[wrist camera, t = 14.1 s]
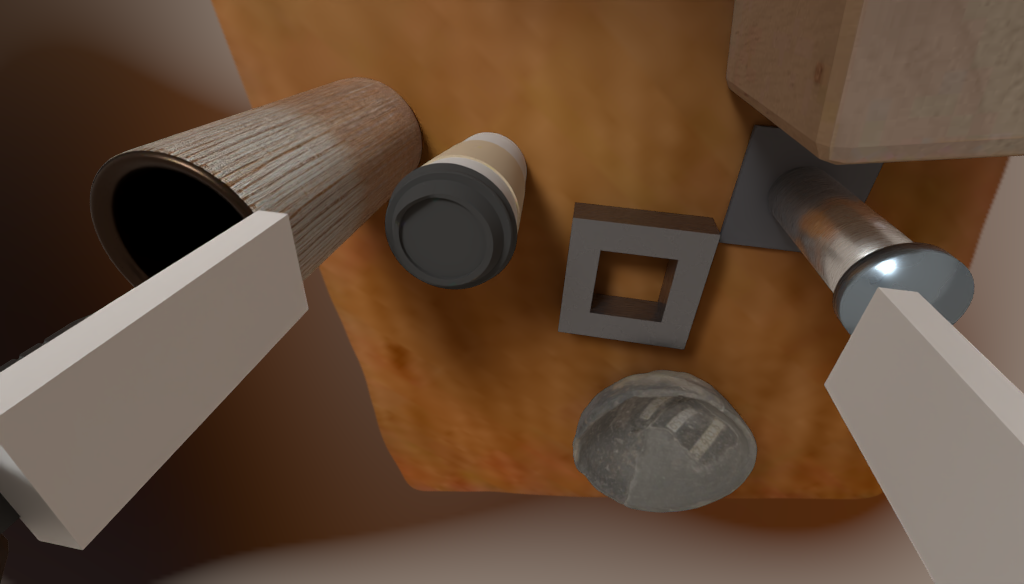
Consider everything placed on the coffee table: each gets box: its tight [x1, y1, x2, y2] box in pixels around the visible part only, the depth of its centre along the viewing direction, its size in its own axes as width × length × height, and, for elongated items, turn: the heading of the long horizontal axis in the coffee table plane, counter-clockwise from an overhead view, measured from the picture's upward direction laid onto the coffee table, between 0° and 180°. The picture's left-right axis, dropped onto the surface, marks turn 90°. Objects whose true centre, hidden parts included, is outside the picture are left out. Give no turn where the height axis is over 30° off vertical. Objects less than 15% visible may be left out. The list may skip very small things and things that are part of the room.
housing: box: [558, 202, 720, 349], centre depth 44 cm, size 12×12×4 cm
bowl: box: [573, 370, 757, 512], centre depth 51 cm, size 18×18×8 cm
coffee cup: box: [385, 132, 527, 289], centre depth 37 cm, size 9×9×15 cm
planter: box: [90, 78, 422, 287], centre depth 34 cm, size 10×10×23 cm
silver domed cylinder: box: [767, 166, 974, 335], centre depth 32 cm, size 6×6×16 cm
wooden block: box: [726, 0, 1024, 165], centre depth 25 cm, size 10×10×20 cm
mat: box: [719, 125, 883, 252], centre depth 39 cm, size 10×10×1 cm
